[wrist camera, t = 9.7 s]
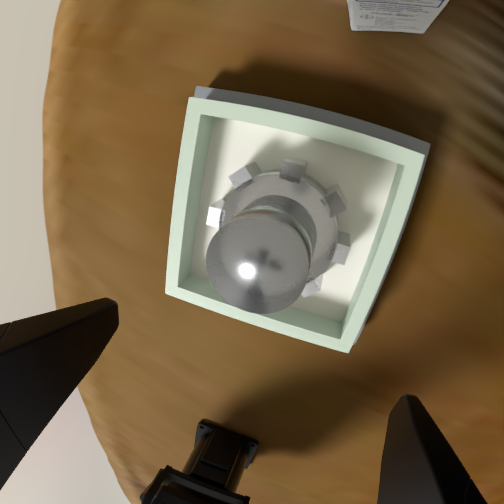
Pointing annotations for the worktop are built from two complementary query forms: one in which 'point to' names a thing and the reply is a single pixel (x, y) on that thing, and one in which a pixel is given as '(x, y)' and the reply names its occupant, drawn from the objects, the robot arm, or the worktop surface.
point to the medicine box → (394, 14)
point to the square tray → (319, 168)
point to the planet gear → (274, 237)
